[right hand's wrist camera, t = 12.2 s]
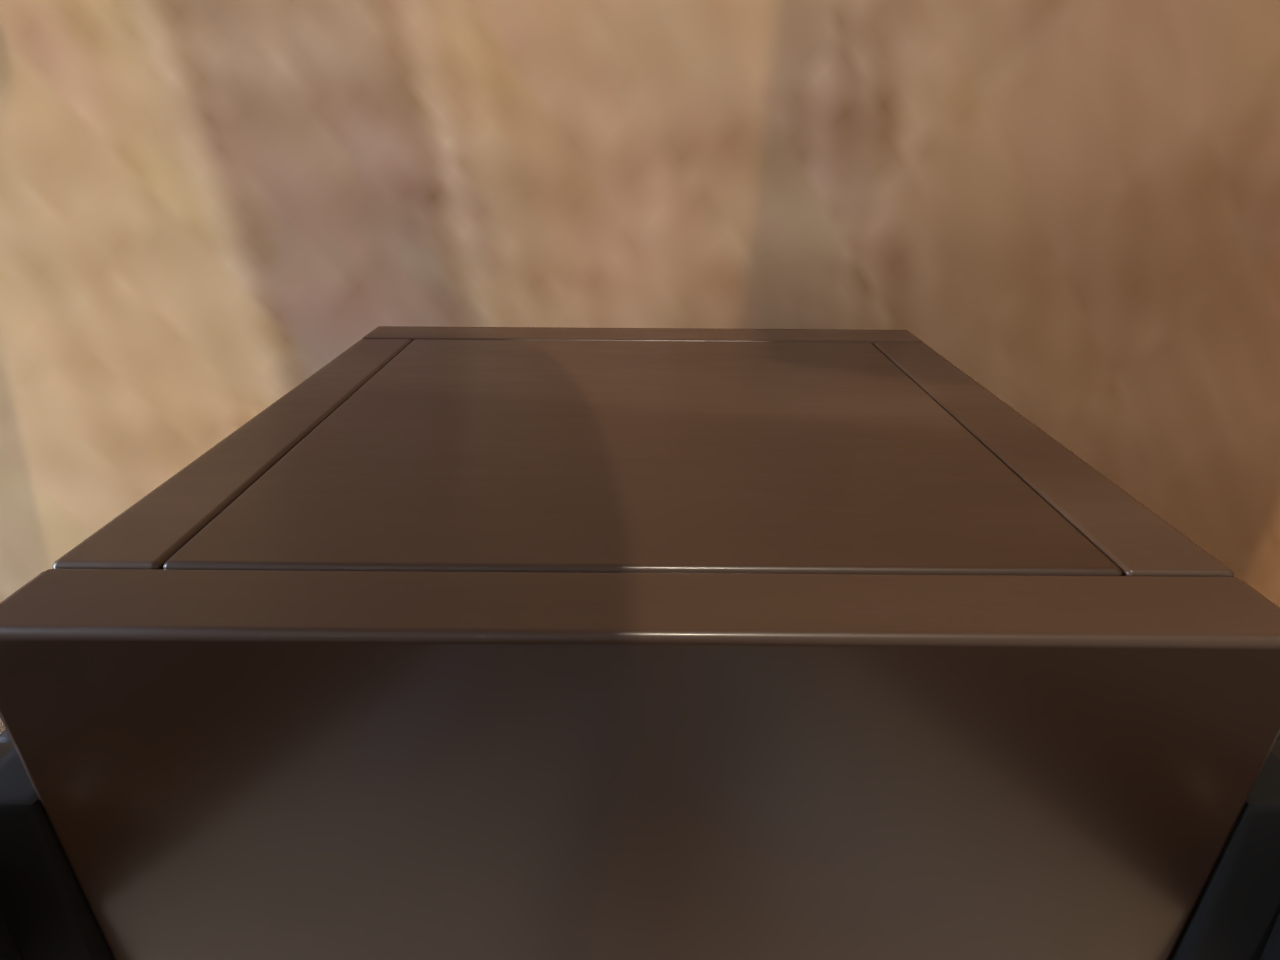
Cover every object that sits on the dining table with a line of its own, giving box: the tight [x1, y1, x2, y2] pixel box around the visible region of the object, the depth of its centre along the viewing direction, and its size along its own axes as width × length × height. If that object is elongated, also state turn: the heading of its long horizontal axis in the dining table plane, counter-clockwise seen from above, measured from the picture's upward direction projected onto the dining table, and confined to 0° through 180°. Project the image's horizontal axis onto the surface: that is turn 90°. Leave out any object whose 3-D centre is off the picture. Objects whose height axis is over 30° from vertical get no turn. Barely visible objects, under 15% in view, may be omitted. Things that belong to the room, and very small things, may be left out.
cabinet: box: [0, 326, 1280, 960], centre depth 15 cm, size 22×11×10 cm, turn 179°
